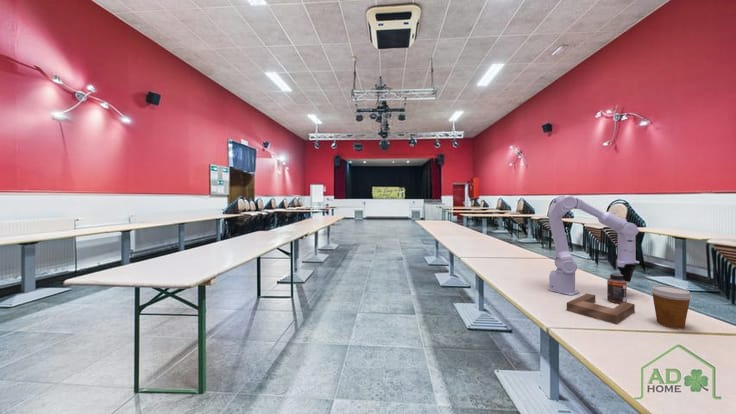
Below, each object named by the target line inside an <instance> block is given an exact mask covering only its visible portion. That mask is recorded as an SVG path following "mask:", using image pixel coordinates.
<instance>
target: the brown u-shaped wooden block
mask: <svg viewBox="0 0 736 414" xmlns="http://www.w3.org/2000/svg"><path fill="white" fill-rule="evenodd" d="M596 297H597V296H596V295H595V294H591V293H584V294H583V295H581V296H578V297H576V298H574V299H572V300H569V301H567V302H566V311H568V312H571V313H575V314H579V315H581V316H585V317H588V318H593V319H597V320H600V321H604V322H606V323H610V324H614V325H618V324H620V323H621V322H622V321H624V320H625V319H627V318H628V317H630V316H631V315H633V314H635V312H636V308H635V307H636V305H635V303H631V302H623V303H621V304H618V305H617V306H615V307H610V306H605V305H601V304H597V303H596V302H597V301H596Z"/></svg>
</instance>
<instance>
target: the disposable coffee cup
mask: <svg viewBox="0 0 736 414" xmlns="http://www.w3.org/2000/svg"><path fill="white" fill-rule="evenodd" d="M650 292H651V294H652V298H653V299H652V301H653V305H654V311H655V312H654V313H655V317H656V323H657V324H659V325H661V326H664V327H667V328H670V329H675V330H682V329H683V330H684V329H685V326H686V321H687V316H688V312H689V306H690V300H691V299H692V298H693V295H692V294H691V292H690V291H689V290H687V289H685V288H680V287H675V286H670V285H659V284H657V285H652V287H651V288H650Z"/></svg>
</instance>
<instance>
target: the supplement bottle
mask: <svg viewBox="0 0 736 414" xmlns="http://www.w3.org/2000/svg"><path fill="white" fill-rule="evenodd" d="M627 283H628V282H626V281H625V280H624V279H623V275H621V273H615V272H614V273H610V276H609V278H608V279H607V281H606V284H607V285H606V288H607V289H606V290H607V293H606V294H607V301H608V302H611V303H614V304H618V305H620V304H621V303H623V302H627V298H628V296H627V295H628V294H627V291H628V289H627V285H628V284H627ZM627 303H628V302H627Z"/></svg>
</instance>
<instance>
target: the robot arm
mask: <svg viewBox="0 0 736 414" xmlns="http://www.w3.org/2000/svg"><path fill="white" fill-rule="evenodd" d="M571 210H580V211H583V212H585V213H587V214H589V215H590V216H593V217H595V218H597V220H598V222H599V223H600V224H602V225H604V226H606V227H607V228H609V229H611V230H613V231H615V233H616V234H617V258H616V262H617V263H616V267H617V269H618V270H619V272H620V273H619V274H621V275H623V279H624V280H625V281H626V283H630V282H631V280H632V277H633V274H634V272H635V270H636V268H637V267H638V266H637V265H636V264H640V261H639V260H636V259H637V258H636V256H637V255H636V251H637V249H636V248H637V247H636V244H637V243H636V236H637V235H638V234H639V232H640V229H638V226H637V225H636V224H635V223H633V222H628V221H627V220H628V219H627V218H622V217H619V216H618V215H616V213H615V212H613V211H611V212H610V211H605V212H604V211H602V210H600V209H598V208H596V207H594V206H593V205H591V204H590V203H588V202H586V201H584V200H582V199H580V198H576V197H575V196H573V195H559V196H557V197H556V198H555V199H553V201H552V204H551V206H550V208H549V211H548V213H547V218H548V221H549V226H550V229H551V235H552V239H553V243H554V244H553V245H554V248H555V249H554V250H555V254H554V256H555V259H554V265H555V267H556V270H551V271H550V273H549V276H548V277H549V279H548V280H549V281H548V282H549V283H548V285H549V288H548V290H549V291H552V292H556V293H558V294H563V295H568V296H574V295H576V294H578V293H580V290H577V289H576V271H577V269H578V266H577V263H576V262H575V261H574V259H573V256H572V254H571V252H570V248H569V244H568V239H567V235H566V234H567V233H566V232H565V231H566V230H565V226H564V221H563V217H564V216H565V214H567V212H568V213H569V212H570V211H571Z"/></svg>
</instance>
